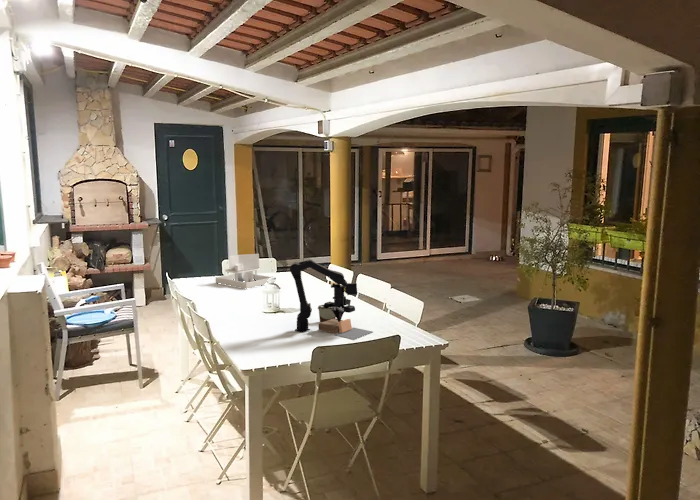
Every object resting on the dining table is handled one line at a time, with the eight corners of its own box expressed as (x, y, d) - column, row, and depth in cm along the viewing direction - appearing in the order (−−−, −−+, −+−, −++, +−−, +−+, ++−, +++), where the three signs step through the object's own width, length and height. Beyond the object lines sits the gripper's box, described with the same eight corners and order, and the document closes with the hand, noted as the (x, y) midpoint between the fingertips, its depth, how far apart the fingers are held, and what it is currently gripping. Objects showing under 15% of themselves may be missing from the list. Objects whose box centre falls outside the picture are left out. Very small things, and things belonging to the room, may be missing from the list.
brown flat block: (335, 334, 312) (335, 327, 312) (318, 330, 320) (318, 323, 319) (350, 328, 323) (350, 321, 323) (333, 324, 331) (333, 318, 330)
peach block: (339, 332, 314) (342, 332, 312) (337, 322, 314) (340, 322, 312) (349, 329, 321) (352, 329, 320) (347, 318, 321) (350, 318, 320)
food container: (340, 321, 339) (340, 305, 338) (336, 323, 333) (336, 307, 332) (321, 319, 343) (321, 303, 341) (317, 322, 337) (317, 305, 335)
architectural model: (238, 288, 432) (237, 258, 428) (222, 284, 446) (221, 255, 442) (266, 283, 452) (266, 254, 449) (250, 279, 466) (249, 252, 463)
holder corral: (246, 289, 427) (246, 283, 426) (215, 283, 448) (215, 277, 447) (273, 283, 449) (273, 277, 449) (242, 278, 471) (242, 272, 470)
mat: (354, 339, 302) (354, 339, 302) (334, 335, 310) (334, 334, 310) (373, 332, 316) (373, 331, 316) (353, 327, 324) (353, 327, 324)
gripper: (360, 294, 317) (360, 321, 320) (335, 290, 328) (335, 316, 331) (349, 298, 309) (349, 325, 311) (322, 293, 320) (323, 320, 322)
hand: (339, 321), depth 319 cm, fingers closed
